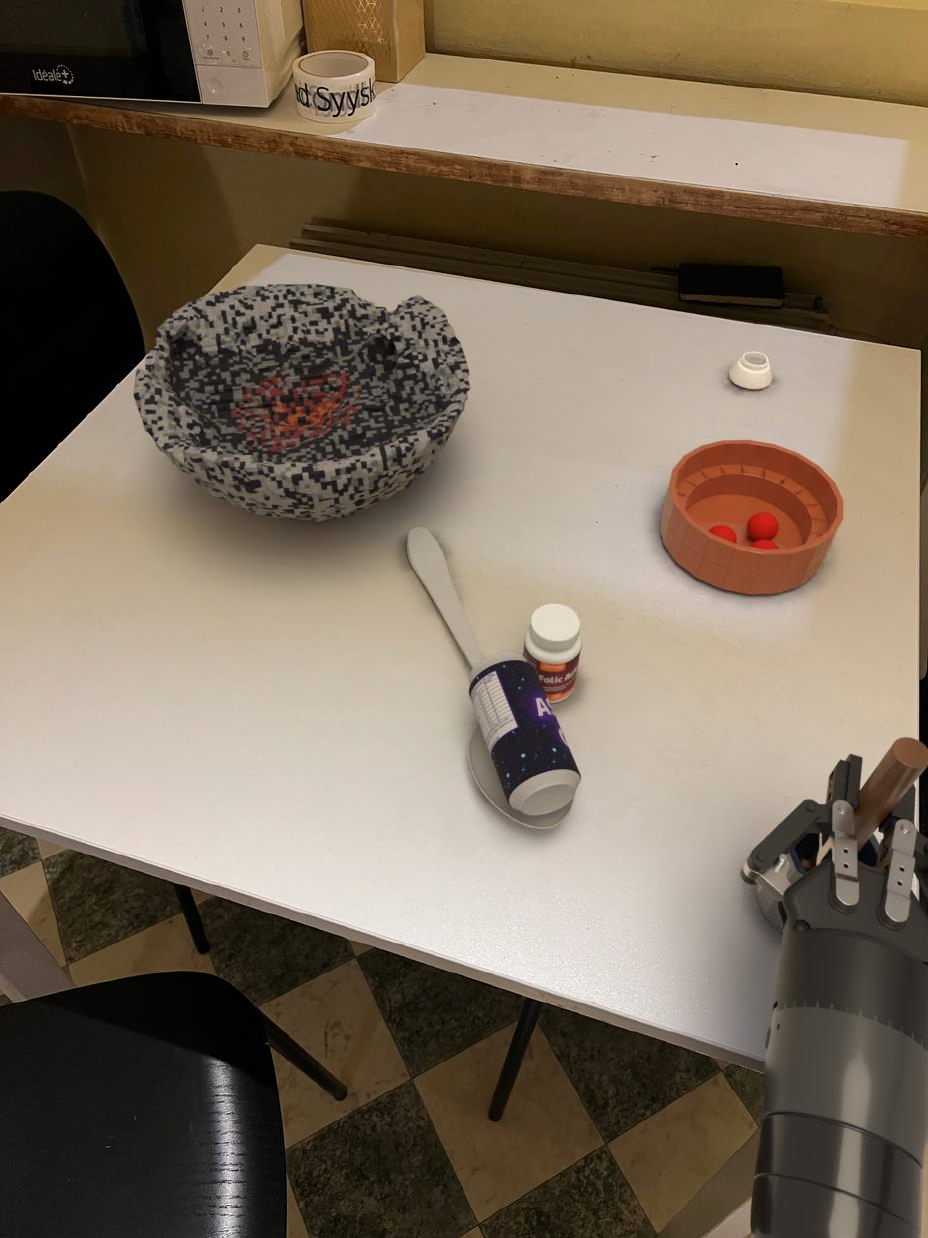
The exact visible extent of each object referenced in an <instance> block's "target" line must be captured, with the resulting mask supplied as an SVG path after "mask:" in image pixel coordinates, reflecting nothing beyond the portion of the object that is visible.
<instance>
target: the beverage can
mask: <svg viewBox="0 0 928 1238" xmlns="http://www.w3.org/2000/svg"><path fill="white" fill-rule="evenodd" d="M471 669H472V668H471ZM468 681H469V687H468V696H469V699H470V701H471V705H472V707H473V711H474V714H475V716H476V718H477V721H478V722H479V724H480V727H481V730H482V732H483V735H484V738H485V741H486V744H487V746H488V749H489V752H490V755H491V758H492V760H493V763H494V766H495V769H496V772H497V774H498V777H499V780H500V783H501V786H502V788H503V791H504V794H505V797H506V800H507V802H508V804H509V806H511V807H512V808H514V809H517V810H520V811H522V812H523V813H525V814H527V815H543V814H547V813H550V812H553V811H556V810H558V809H560V808H561V807H563V806H565V805H566V804H567V803H569V802H570V801H571V800H572V799H573V797H574V796H575V797H576V793H577V789H578V787H579V786H580V783H581V781H582V775H581V772H580V770H579V767H578V765H577V763H576V761H575V758H574V756H573V753H572V751H571V749H570V747H569V744H568V742H567V739H566V737H565V735H564V732H563V730H562V728H561V726H560V723H559V720H558V717H557V716H556V714H555V711H554V709H553V707H552V703H550V702H549V700H548V697H547V695H546V693H545V690H544V688H543V686H542V683H541V681H540V679H539V676H538V674H537V672H536V669H535V668H534V667H533V666H532V665H531V664H530V663H528V662H527V660H526V659H525V657H524V656H523V654H521V653H518V652H514V651H503V652H498V653H494V654H492V655H489V656H487V657H485V658H483V660H482V661H480V662H479V663H478V664H477V665H476V666H475V667H474V668H473V669H472V670H471V671H470V673H469V677H468ZM575 797H574V798H575Z"/></svg>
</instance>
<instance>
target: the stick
mask: <svg viewBox="0 0 928 1238" xmlns="http://www.w3.org/2000/svg"><path fill="white" fill-rule="evenodd" d="M927 768H928V747H927V746H926V745H925V744H924V743H923V742H921V741H920V740H918V739H916V738H913V737H910V736H905V737H903V736H902V737H899V738H897V739H896V740H894V741H893V743H892V744H891V746H890V747H889V748H888V750H887V752H886V753H885V754H884V756H883V757H882V758H881V760H880V762H879V763H878V764H877V765H876V767H875V768H874V770H873V771H872V773H871V774H870V775H869V776H868V778H867V780H866V781H865V782H864V784H863V785H862V787H860V791H859V795H858V797H859V803H858V806H857V807H856V808H855V810H854V837H856V838H857V853H858V852H859V851H860V850H861V848H862V847H863V846H864V845H865V843H866V842H867V841H868V840H869V838H870V837H871V836H872V835H873V834H874V833H875V832H876V831H877V830H878V829H879V826H880V825H881V823H882V822H883V821H884V820H885V818H886V817H887V816H888V815H889V813H890V812H891V811H892V810H893V808H894V807H895V806H896V805H897V803H898V802H899V801H900V800H901V798H902V797H903V796H904V795H905V793H906V792H907V791H908V790H909V788H910V787H911V786H912V785H913V783H914V784H915V782H916V781H917V780H918V779H919V777H920V776H921V775H922V773H923V772H924V771H925V770H926V769H927ZM818 852H819V848H818V850H817V851H816V852H815V854H814V855H813V857H812V858H811V860H810V861H809V860H805V859H802V860H801V861H800V862H801V865H802V867H803V868H804V869H805V870H806V871H807V872H809V871H810V870H811V869H813V868H814V867H815V866H816V865H817V855H818Z"/></svg>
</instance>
